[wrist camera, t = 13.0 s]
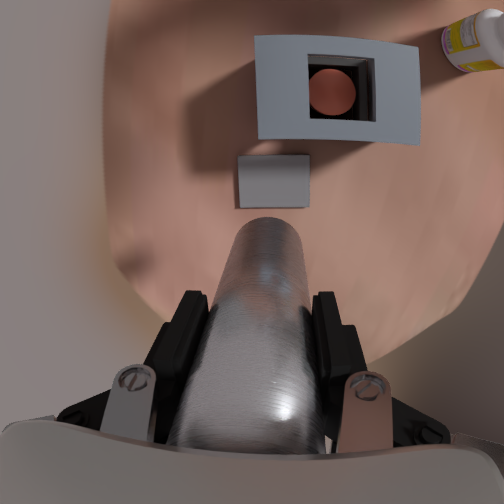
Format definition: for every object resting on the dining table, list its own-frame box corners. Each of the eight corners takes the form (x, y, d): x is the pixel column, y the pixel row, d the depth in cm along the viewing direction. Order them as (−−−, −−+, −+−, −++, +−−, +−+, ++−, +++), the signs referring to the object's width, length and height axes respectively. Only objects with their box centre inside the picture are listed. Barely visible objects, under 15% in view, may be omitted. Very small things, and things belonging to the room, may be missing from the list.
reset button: (348, 74, 29) (354, 70, 27) (349, 116, 31) (356, 116, 29) (304, 72, 30) (306, 68, 27) (305, 114, 32) (308, 114, 29)
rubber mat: (309, 154, 35) (309, 155, 34) (308, 205, 37) (309, 207, 36) (238, 155, 36) (237, 156, 35) (240, 205, 38) (240, 207, 37)
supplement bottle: (488, 58, 26) (551, 51, 15) (461, 81, 29) (525, 78, 17) (458, 16, 25) (516, -6, 13) (429, 38, 27) (486, 15, 15)
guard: (384, 62, 29) (418, 47, 20) (385, 136, 33) (419, 145, 24) (261, 56, 31) (254, 35, 21) (264, 133, 34) (258, 139, 25)
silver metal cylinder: (303, 216, 18) (342, 455, 5) (301, 280, 19) (316, 516, 7) (231, 217, 18) (135, 442, 5) (235, 280, 20) (177, 507, 7)
